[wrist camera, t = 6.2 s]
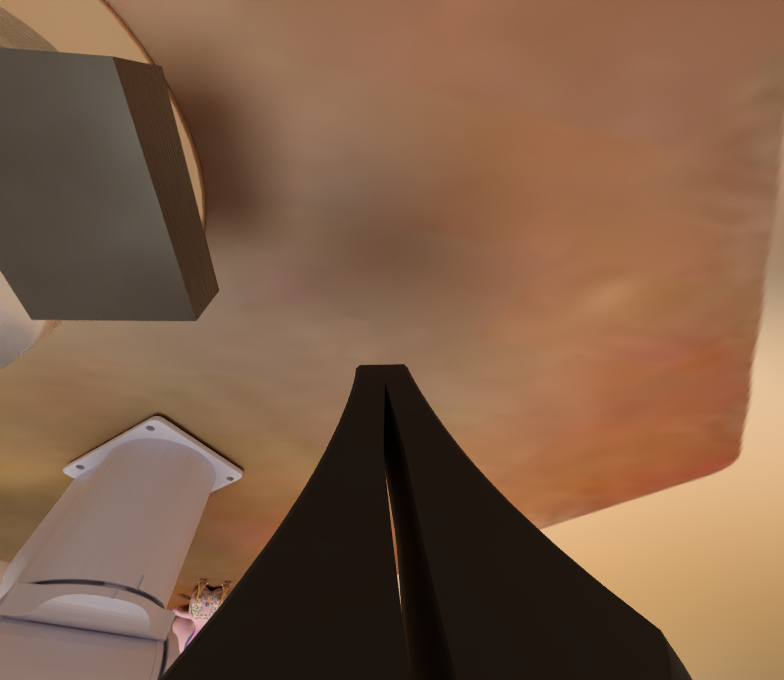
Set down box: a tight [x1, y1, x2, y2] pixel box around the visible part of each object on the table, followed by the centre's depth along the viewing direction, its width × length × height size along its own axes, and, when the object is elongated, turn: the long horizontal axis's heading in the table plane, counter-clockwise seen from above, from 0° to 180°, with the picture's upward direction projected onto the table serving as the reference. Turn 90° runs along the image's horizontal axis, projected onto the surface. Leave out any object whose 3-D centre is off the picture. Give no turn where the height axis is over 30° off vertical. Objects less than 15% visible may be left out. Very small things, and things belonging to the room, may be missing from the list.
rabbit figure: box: [172, 579, 231, 654], centre depth 38 cm, size 6×6×15 cm
